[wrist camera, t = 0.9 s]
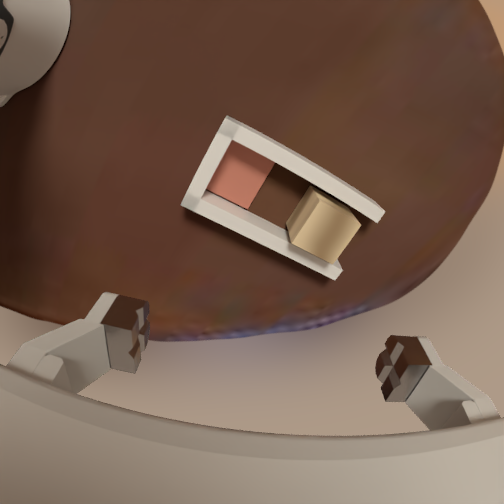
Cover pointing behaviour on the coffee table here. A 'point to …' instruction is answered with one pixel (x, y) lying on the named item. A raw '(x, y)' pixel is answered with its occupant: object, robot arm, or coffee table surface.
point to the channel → (249, 182)
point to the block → (321, 225)
